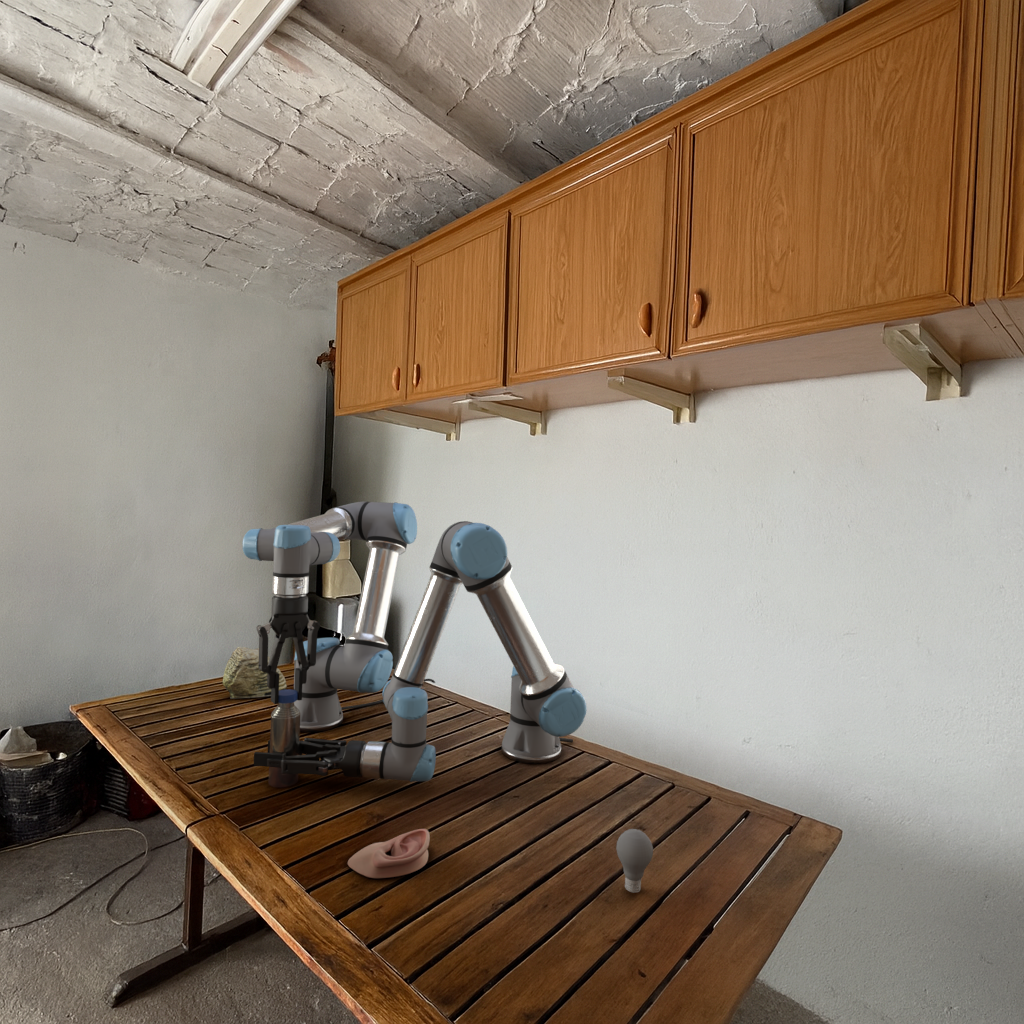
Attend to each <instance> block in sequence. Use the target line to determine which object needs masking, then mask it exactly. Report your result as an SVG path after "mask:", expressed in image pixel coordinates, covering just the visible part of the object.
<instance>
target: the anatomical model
mask: <svg viewBox="0 0 1024 1024" xmlns="http://www.w3.org/2000/svg"><path fill="white" fill-rule="evenodd" d="M430 838H431V836H430V831H429V830H428V829H426V828H419V829H418V828H417V829H414V830H411V831H407V832H404V833H402V834H400V835H397V836H395V837H393V838H391V839H389V840H385V841H379V842H373V843H372V844H369V845H367V846H365V847H363V848H361V849H360V850H358V851H357V852H356V853H354V854H353V855H352V856H351V857H350V858H349V859H348V861H347V866H348V867H349V868H350V869H352V870H353V871H355V872H356V873H358V874H360V875H362V876H364V877H366V878H370V879H386V878H394V877H395V878H396V877H401V876H405V875H409V874H411V873H414V872H416V871H418V870H420V869H422V868H423V867H425V866H426V864H427V863H428V861H429V850H428V848H429V846H430V840H431V839H430Z"/></svg>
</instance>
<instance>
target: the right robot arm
mask: <svg viewBox="0 0 1024 1024" xmlns="http://www.w3.org/2000/svg"><path fill="white" fill-rule="evenodd" d="M428 567H429V568H428V569H429V571H430V577H429V579H428V582H427V585H426V587H425V589H424V592H423V594H422V598H421V600H420V604H419V606H418V608H417V610H416V613H415V616H414V618H413V620H412V623H411V626H410V628H409V631H408V635H407V637H406V639H405V642H404V645H403V648H402V649H401V652H400V655H399V657H398V661H397V663H396V666H395V668H394V670H393V674H392V675H391V678H390V680H388V681H387V683H386V684H385V685H384V687H383V688H382V694H381V695H382V700H383V702H382V703H383V705H384V707H385V709H386V711H387V712H388V715H389V718H390V720H391V742H387V741H377V740H376V741H375V740H369V741H367V742H366V741H365V740H354V739H351V740H349V741H348V742H347V740H344V739H341V740H335V739H334V740H332V739H324V738H314V737H313V738H312V737H305V738H303V740H299V755H295V756H286V753H283V754H280V753H270V739H269V740H268V741H267V752H264V751H255V752H254V753H253V767H267V768H269V767H281V768H282V773H288V774H298V775H317V776H321V777H328V776H329V771H334V770H341V771H342V775H343V776H344V777H346V778H347V777H348V778H361V777H363V778H364V779H374V780H375V781H378V780H379V779H380V780H395V781H405V782H410V783H412V782H420V783H421V782H428V781H431V779H432V778H433V776H434V773H435V768H436V759H437V754H436V747H435V745H432V744H429V743H427V729H428V728H427V726H428V710H429V704H428V693H427V691H426V690H425V689H423V686H424V679H426V676H427V674H428V672H429V668H430V666H431V664H432V661H433V659H434V656H435V653H436V650H437V648H438V645H439V642H440V640H441V637H442V635H443V632H444V630H445V627H446V625H447V622H448V619H449V617H450V615H451V611H452V609H453V606H454V604H455V601H456V598H457V596H458V593H459V590H460V587H461V586H462V585H463V587H464V589H465V590H466V592H467V593H471V594H473V595H476V597H477V599H478V600H479V602H480V604H481V606H482V608H483V610H484V612H485V614H486V616H487V618H488V620H489V622H490V624H491V625H492V627H493V629H494V631H495V633H496V635H497V637H498V639H499V641H500V642H501V644H502V646H503V649H504V650H505V652H506V654H507V655H508V658H509V660H510V661H511V664H512V665H513V666H512V671H511V676H510V678H511V684H510V685H511V687H510V710H509V711H510V713H509V722H508V725H507V728H506V730H505V733H504V736H503V738H502V742H501V753H502V754H503V756H505V757H507V758H508V759H510V760H513V761H515V762H519V763H525V764H546V763H551V762H553V761H556V760H558V759H559V758H560V757H561V755H562V743H561V742H563V743H571V744H573V743H574V739H573V738H568V737H567V736H569V735H572V734H573V733H575V732H576V731H577V730H578V729H579V728H580V727H581V726H582V725H583V722H584V721H585V717H586V715H587V712H588V711H587V708H588V707H587V701H586V699H585V696H583V694H582V692H580V690H578V689H577V688H575V687H574V685H573V684H572V681H571V680H570V678H569V676H568V673H567V671H566V670H565V668H564V666H563V665H562V664H559V663H555V662H554V660H553V658H552V657H551V655H550V653H549V651H548V648H547V646H546V645H545V642H544V641H543V639H542V637H541V635H540V633H539V631H538V629H537V628H536V625H535V623H534V621H533V620H532V617H531V616H530V614H529V613H530V612H528V610H527V608H526V606H525V603H524V601H523V600H522V598H521V596H520V594H519V592H518V590H517V588H516V586H515V584H514V582H513V580H512V578H511V574H512V571H513V565H512V563H511V561H510V559H509V558H508V547H507V543H506V541H505V539H504V537H503V535H502V534H501V533H500V532H499V531H498V530H496V529H495V528H494V527H492V526H490V525H489V524H485V523H481V522H472V521H468V520H467V521H465V520H464V521H463V520H462V521H457V522H454V523H452V524H451V525H449V526H448V527H447V528H446V529H445V530H444V531H443V533H442V534H441V536H440V538H439V540H438V543H437V545H436V548H435V551H434V554H433V557H432V559H431V562H430V565H429V566H428ZM566 737H567V738H566Z"/></svg>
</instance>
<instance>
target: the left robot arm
mask: <svg viewBox="0 0 1024 1024" xmlns="http://www.w3.org/2000/svg"><path fill="white" fill-rule="evenodd" d="M417 535H418V520H417V516H416V513H415V511H414V509H413V507H411V506H410V505H409V504H407V503H400V502H380V501H366V500H365V501H356V502H351V503H348V504H347V503H346V504H343V505H340V506H336V507H332V508H330V509H328V510H327V511H326V512H325V513H324V514H320V515H316V516H313V517H309V518H305V519H302V520H297V521H294V522H291V523H288V524H280V525H277V526H275V527H272V528H261V527H260V528H251V529H249V530H248V531H246V533H245V534H244V535H243V539H242V551H243V554H244V556H245V557H246V558H248V559H250V560H256V561H259V562H263V561H265V562H273V572H272V586H271V587H272V588H271V593H272V594H273V596H271V597H272V598H271V616H270V619H269V620H268V622H267V623H264V624H258V625H257V626H256V631H257V634H258V648H259V667H258V668H259V669H260V670H261V671H262V672H266V673H267V686H268V688H270V689H271V696H270V702H271V703H273V704H274V705H278V698H279V673H277V672H276V670H277V668H278V665H279V662H280V657H281V655H282V650H283V646H284V644H285V642H286V640H287V639H288V638H292V640H293V644H294V649H295V652H294V659H293V660H294V672H293V690H296V691H297V694H298V699H297V701H295V702H294V705H295V706H296V707H297V708H298V709H299V710H300V733H316V732H325V731H329V730H332V729H335V728H337V727H339V726H340V725H342V723H343V722H344V714H343V711H344V710H350V709H357V708H364V707H369V706H374V705H378V704H382V703H384V702H383V699H380V700H376V701H372V702H366V703H362V704H361V703H360V704H355V705H348V706H341V702H340V699H339V695H338V690H342V691H350V692H358V693H362V694H364V693H369V694H374V693H378V692H380V691H381V690H383V688H384V686H385V685H386V683H387V682H388V681H389V679H390V676H391V673H392V670H393V666H394V661H393V659H394V657H393V653H392V652H391V651H390V650H389V649H388V647H389V643H388V642H387V640H386V639H385V634H386V629H387V624H388V618H389V613H390V608H391V602H392V597H393V593H394V587H395V582H396V577H397V571H398V566H399V561H400V556H401V555H403V554H404V553H405V552H406V551H407V546H408V545H410V544H414V542H415V541H416V539H417ZM345 540H356V541H366V542H365V545H366V547H367V548H368V550H369V553H368V558H367V563H366V569H365V573H364V577H363V582H362V586H361V587H362V589H361V591H360V595H359V602H358V607H357V611H356V616H355V621H354V625H353V630H352V633H351V634H350V635H348V636H347V637H346V638H345V642H344V645H341V641H340V639H339V638H338V637H318V632H319V630H320V627H321V623H320V621H317V620H315V619H314V620H311V619H310V617H309V615H308V609H309V597H308V596H307V594H308V593H309V581H310V566H316V565H326V564H328V563H331V562H333V561H335V560H336V559H337V558H338V556H339V555H340V552H341V543H340V542H341V541H345ZM306 627H307V629H308V631H307V640H304V635H303V631H304V630H305V629H306ZM271 629H272V630H273V632H274V637H273V644H272V648H271V651H270V655H269V634H270V633H271V632H270V631H271ZM268 656H269V658H270V659H269V663H268ZM424 682H425V683H426V682H431V683H433V684H435V683H436V681H435V680H434V679H432V678H425V679H424ZM424 682H423V683H424Z"/></svg>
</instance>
